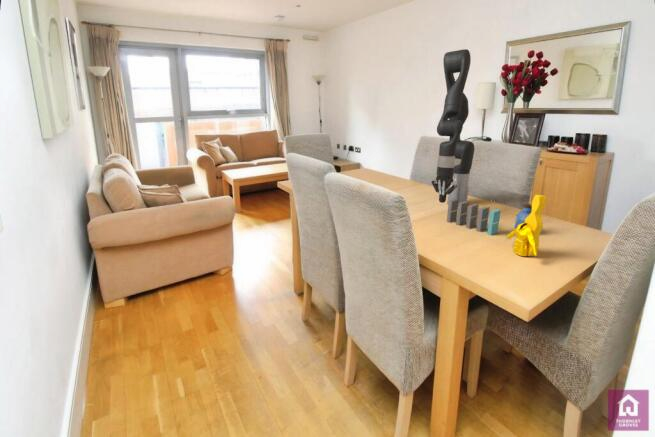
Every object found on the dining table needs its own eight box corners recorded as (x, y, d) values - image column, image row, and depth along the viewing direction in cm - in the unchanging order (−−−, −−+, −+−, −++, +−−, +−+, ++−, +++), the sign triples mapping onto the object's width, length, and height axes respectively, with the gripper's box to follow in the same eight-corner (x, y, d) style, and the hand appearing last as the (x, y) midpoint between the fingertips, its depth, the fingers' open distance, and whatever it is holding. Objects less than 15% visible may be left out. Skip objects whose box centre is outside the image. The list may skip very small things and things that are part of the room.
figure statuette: (500, 244, 140) (509, 189, 133) (519, 243, 141) (529, 188, 133) (529, 265, 123) (541, 203, 116) (550, 263, 124) (563, 202, 117)
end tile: (493, 231, 153) (497, 209, 150) (497, 232, 152) (501, 210, 149) (487, 234, 150) (490, 211, 147) (490, 235, 149) (494, 212, 146)
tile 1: (453, 219, 168) (455, 198, 165) (456, 220, 167) (458, 199, 164) (446, 221, 166) (448, 200, 162) (449, 222, 164) (452, 201, 161)
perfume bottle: (530, 230, 154) (535, 203, 150) (532, 235, 149) (538, 207, 145) (514, 228, 156) (518, 202, 152) (516, 233, 151) (521, 206, 147)
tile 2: (462, 222, 165) (465, 201, 161) (465, 223, 163) (468, 202, 160) (456, 224, 162) (458, 203, 159) (459, 225, 160) (461, 204, 157)
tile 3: (472, 225, 161) (475, 203, 158) (475, 226, 159) (478, 204, 156) (465, 227, 158) (468, 205, 155) (469, 228, 157) (472, 206, 153)
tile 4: (482, 228, 157) (485, 206, 154) (486, 229, 156) (489, 207, 152) (476, 230, 154) (479, 208, 151) (479, 231, 153) (483, 209, 150)
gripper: (428, 164, 166) (425, 200, 171) (453, 168, 156) (449, 207, 161) (439, 162, 170) (435, 198, 175) (463, 166, 160) (459, 204, 165)
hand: (442, 202), depth 168 cm, fingers closed
